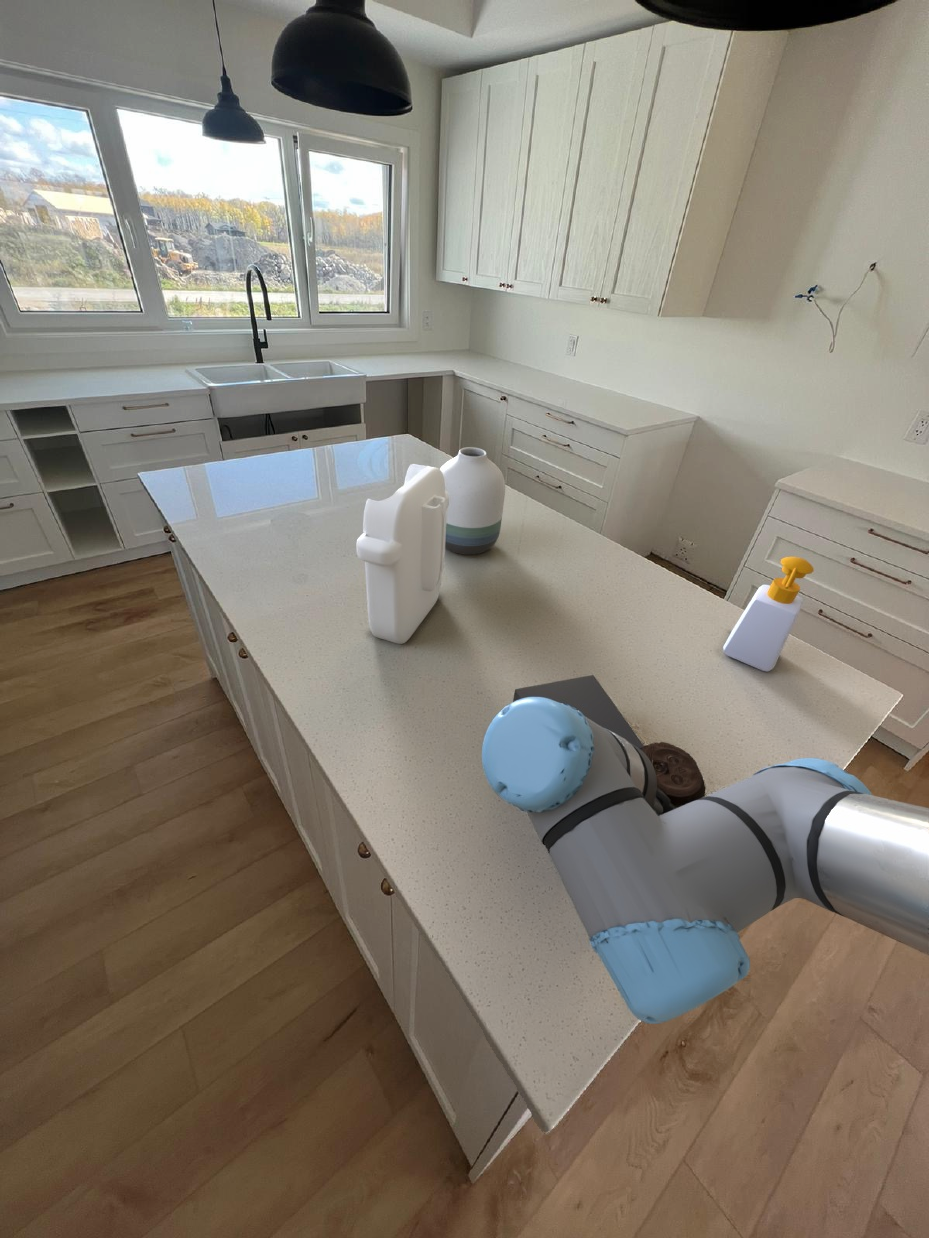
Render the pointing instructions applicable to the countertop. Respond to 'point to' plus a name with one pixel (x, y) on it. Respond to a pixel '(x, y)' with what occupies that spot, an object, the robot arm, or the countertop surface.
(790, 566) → the soap bottle
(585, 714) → the black drawer box
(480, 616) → the countertop surface
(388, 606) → the white jerry can
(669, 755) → the coffee cup
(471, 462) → the vase
